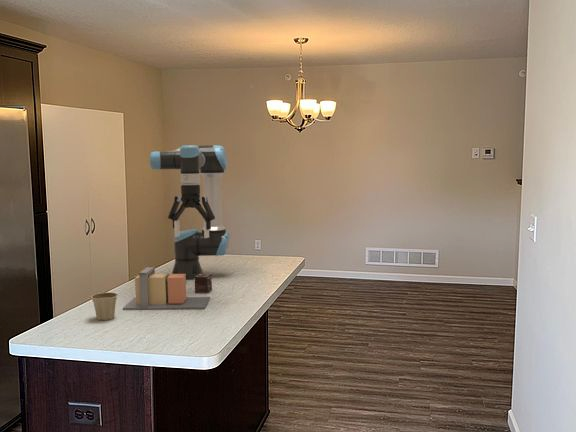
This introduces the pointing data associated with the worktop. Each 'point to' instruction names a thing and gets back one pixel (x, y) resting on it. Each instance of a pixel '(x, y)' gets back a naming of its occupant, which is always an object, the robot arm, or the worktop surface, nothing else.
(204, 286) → the box
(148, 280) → the holder
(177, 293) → the block
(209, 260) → the worktop surface
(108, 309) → the flower pot
